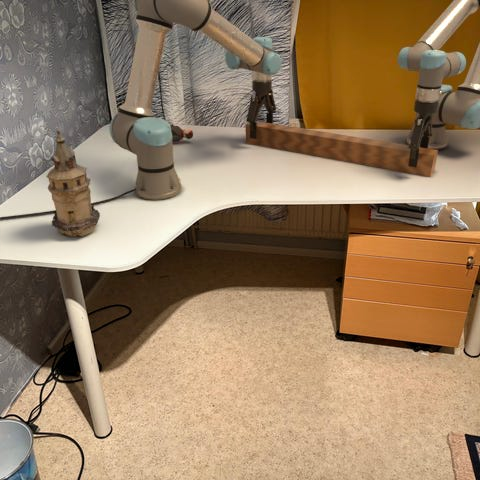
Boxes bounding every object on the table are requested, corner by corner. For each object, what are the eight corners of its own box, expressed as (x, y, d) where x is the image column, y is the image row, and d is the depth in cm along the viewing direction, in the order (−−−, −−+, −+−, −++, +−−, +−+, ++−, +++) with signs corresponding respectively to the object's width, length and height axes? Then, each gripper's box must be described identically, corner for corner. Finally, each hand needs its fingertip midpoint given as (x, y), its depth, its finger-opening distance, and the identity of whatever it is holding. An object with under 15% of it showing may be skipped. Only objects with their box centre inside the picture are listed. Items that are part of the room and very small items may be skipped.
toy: (134, 117, 234) (200, 117, 228) (136, 131, 237) (202, 131, 231) (110, 136, 212) (182, 136, 205) (113, 151, 215) (184, 152, 208)
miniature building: (80, 214, 164) (63, 117, 149) (111, 225, 157) (96, 125, 142) (44, 231, 154) (22, 130, 140) (75, 244, 147) (55, 139, 133)
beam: (245, 142, 219) (245, 124, 215) (252, 138, 223) (252, 120, 219) (430, 176, 186) (434, 155, 182) (434, 171, 190) (438, 150, 186)
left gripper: (254, 88, 195) (254, 144, 205) (285, 74, 214) (283, 126, 224) (237, 85, 198) (237, 140, 209) (268, 72, 217) (267, 124, 227)
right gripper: (429, 110, 167) (419, 174, 177) (447, 92, 185) (437, 150, 196) (405, 107, 170) (396, 170, 181) (425, 90, 189) (416, 147, 199)
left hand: (261, 133), depth 216 cm, fingers open, 13 cm apart
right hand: (417, 160), depth 188 cm, fingers open, 13 cm apart
